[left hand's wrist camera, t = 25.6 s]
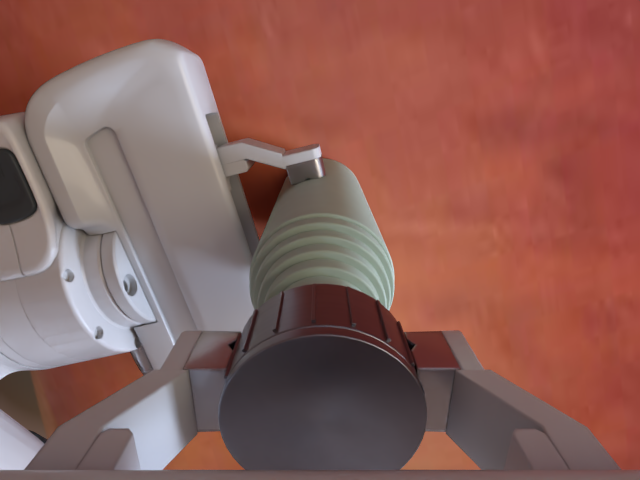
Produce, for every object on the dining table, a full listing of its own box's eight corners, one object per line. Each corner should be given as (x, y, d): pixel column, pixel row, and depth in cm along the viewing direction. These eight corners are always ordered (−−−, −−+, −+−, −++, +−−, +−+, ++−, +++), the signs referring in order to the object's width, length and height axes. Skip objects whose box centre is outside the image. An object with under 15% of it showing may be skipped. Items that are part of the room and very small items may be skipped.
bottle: (270, 222, 26) (182, 451, 9) (295, 146, 24) (239, 261, 8) (344, 246, 27) (385, 502, 10) (373, 174, 25) (483, 337, 8)
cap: (203, 323, 10) (172, 383, 8) (366, 251, 9) (379, 296, 7) (285, 442, 11) (278, 520, 9) (432, 388, 11) (459, 458, 8)
